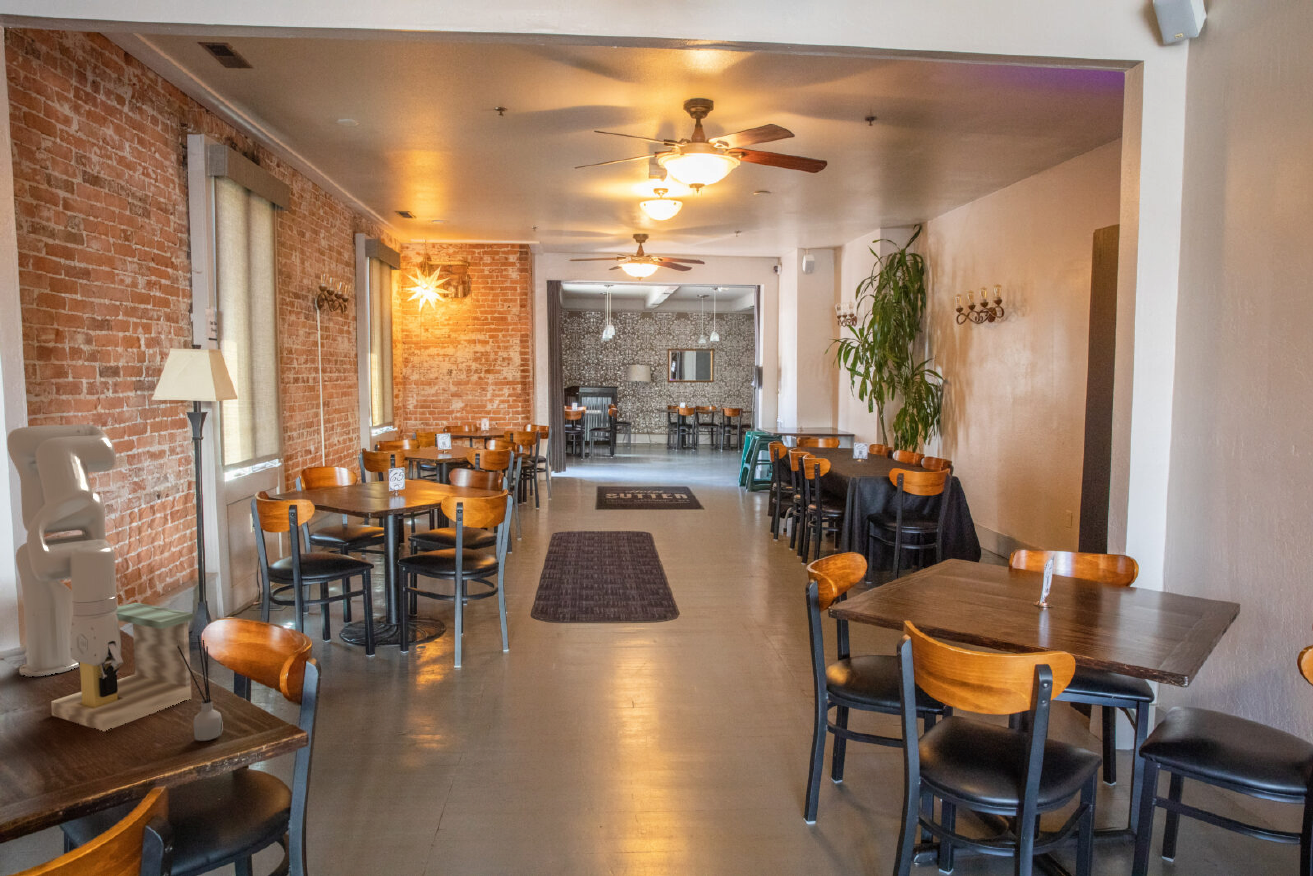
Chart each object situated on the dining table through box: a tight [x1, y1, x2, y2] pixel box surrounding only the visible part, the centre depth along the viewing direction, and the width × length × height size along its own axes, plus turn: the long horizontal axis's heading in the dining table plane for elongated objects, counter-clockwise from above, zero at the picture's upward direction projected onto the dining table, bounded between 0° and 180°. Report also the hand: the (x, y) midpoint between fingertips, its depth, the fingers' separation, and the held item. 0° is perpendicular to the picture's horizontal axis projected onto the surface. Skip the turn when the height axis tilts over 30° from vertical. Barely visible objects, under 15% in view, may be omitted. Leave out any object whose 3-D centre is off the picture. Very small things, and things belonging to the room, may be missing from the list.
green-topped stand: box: [50, 602, 194, 732], centre depth 169 cm, size 20×18×19 cm
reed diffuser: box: [177, 634, 224, 742], centre depth 153 cm, size 10×7×20 cm
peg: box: [79, 658, 118, 709], centre depth 165 cm, size 4×4×12 cm
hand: (99, 691), depth 165 cm, fingers open, 5 cm apart
